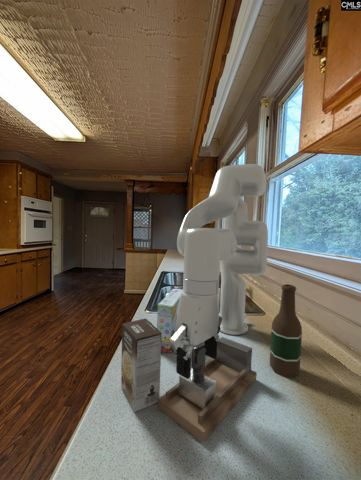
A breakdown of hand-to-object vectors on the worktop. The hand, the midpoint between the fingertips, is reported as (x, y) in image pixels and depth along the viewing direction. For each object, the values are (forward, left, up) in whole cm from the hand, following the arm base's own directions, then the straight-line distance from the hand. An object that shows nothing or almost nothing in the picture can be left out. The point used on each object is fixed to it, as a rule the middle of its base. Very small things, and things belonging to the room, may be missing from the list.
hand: (197, 365), depth 50 cm
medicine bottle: (-31, -36, -10) cm, 49 cm away
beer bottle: (-28, +10, -10) cm, 32 cm away
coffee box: (+6, -12, -10) cm, 17 cm away
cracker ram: (0, 0, -7) cm, 7 cm away
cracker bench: (-6, 0, -10) cm, 11 cm away
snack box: (-20, -26, -10) cm, 34 cm away
